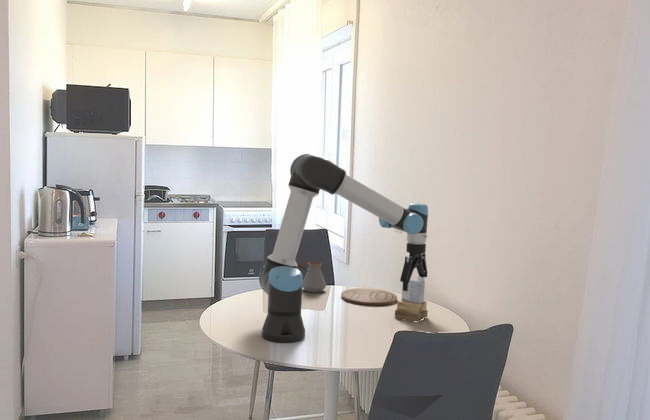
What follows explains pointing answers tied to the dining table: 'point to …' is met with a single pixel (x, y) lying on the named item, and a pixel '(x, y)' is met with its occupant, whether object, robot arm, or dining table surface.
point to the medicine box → (416, 291)
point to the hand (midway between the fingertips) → (413, 295)
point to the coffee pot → (313, 278)
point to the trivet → (369, 297)
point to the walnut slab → (410, 315)
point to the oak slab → (411, 306)
